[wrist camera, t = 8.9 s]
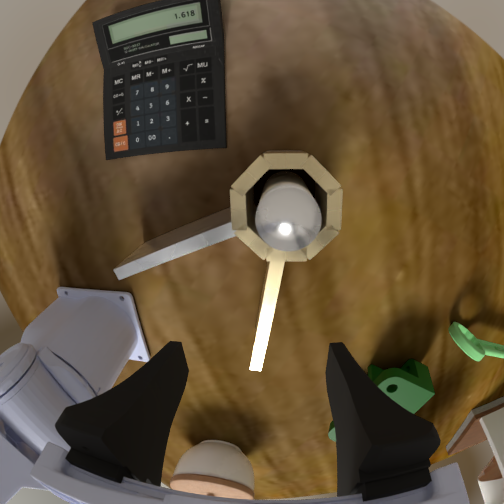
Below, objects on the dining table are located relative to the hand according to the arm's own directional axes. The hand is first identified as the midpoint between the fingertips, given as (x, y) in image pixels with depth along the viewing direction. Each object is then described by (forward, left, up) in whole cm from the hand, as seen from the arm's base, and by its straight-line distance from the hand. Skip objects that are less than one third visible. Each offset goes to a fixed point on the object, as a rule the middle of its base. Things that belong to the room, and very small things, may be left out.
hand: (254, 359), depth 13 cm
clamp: (+11, -13, -10) cm, 20 cm away
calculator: (-7, +15, -10) cm, 20 cm away
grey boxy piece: (+37, -29, -10) cm, 47 cm away
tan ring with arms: (-3, +2, -9) cm, 10 cm away
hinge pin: (+2, +6, -9) cm, 11 cm away
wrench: (+29, -10, -10) cm, 32 cm away
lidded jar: (-6, -28, -10) cm, 30 cm away
